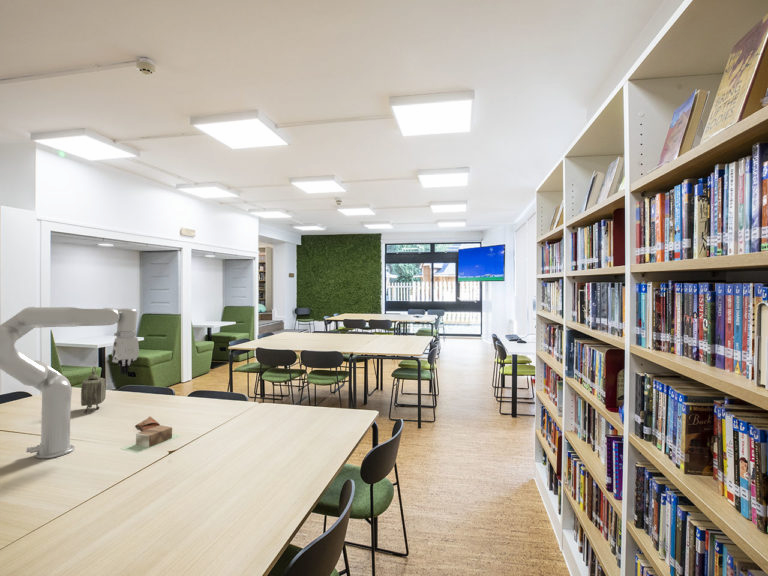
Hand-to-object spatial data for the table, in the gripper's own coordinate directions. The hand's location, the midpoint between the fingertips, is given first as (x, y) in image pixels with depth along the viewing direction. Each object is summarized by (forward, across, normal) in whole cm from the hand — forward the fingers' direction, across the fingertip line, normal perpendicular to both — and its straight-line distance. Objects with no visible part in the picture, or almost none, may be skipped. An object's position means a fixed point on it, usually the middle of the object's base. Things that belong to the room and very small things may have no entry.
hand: (124, 373), depth 184 cm
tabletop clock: (+31, +22, +60) cm, 71 cm away
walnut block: (+28, -1, -17) cm, 32 cm away
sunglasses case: (+31, +16, +3) cm, 35 cm away
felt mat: (+30, +4, -17) cm, 35 cm away
